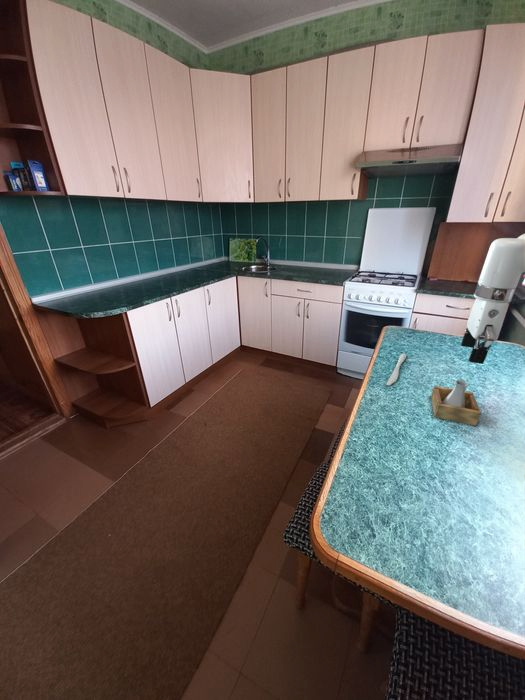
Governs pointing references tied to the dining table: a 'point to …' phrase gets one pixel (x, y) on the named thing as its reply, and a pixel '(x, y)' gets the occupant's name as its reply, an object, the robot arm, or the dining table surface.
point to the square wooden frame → (452, 412)
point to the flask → (456, 395)
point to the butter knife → (396, 370)
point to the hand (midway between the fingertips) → (471, 354)
